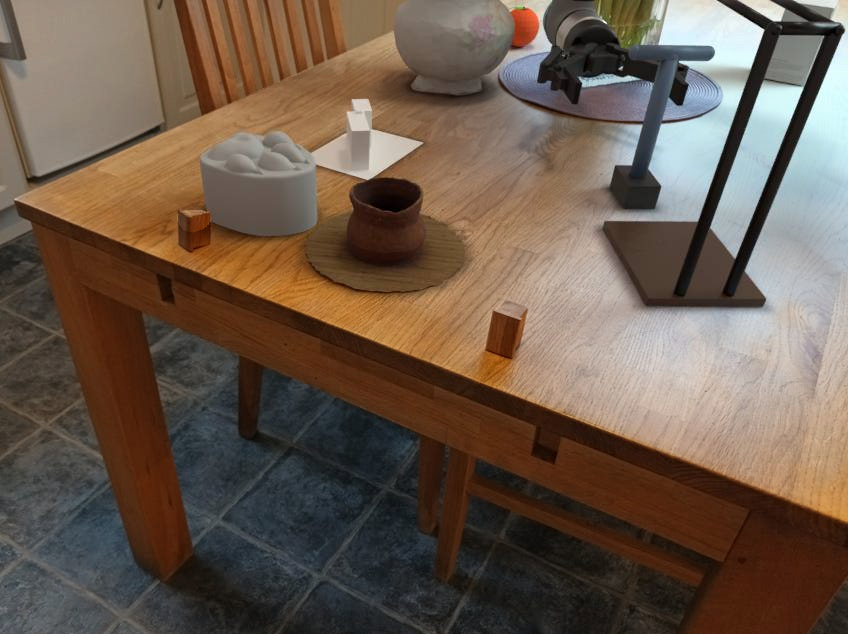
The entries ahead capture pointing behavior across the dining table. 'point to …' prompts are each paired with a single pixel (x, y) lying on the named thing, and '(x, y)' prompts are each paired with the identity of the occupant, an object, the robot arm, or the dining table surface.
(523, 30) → the clementine
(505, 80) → the dining table surface
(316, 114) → the dining table surface
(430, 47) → the grey round vase
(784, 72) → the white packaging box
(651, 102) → the brush
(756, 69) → the desk lamp
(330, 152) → the napkin holder
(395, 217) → the ceramic pot
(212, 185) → the lumpy-topped squat cylinder
